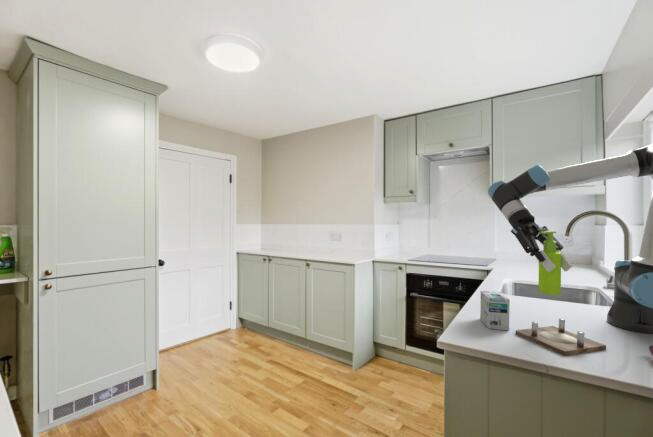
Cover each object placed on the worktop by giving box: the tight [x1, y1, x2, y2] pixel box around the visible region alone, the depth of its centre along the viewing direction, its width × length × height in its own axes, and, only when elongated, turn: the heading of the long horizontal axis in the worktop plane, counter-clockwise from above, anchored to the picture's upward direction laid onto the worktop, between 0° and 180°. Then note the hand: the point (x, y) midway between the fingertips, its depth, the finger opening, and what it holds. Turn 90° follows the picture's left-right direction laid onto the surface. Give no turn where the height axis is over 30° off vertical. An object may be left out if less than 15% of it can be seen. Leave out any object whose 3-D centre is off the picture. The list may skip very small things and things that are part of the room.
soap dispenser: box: [538, 230, 562, 296], centre depth 101 cm, size 6×7×20 cm
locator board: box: [515, 318, 607, 357], centre depth 97 cm, size 16×16×5 cm
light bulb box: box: [479, 290, 511, 331], centre depth 111 cm, size 11×7×11 cm, turn 168°
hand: (560, 269), depth 98 cm, fingers closed on soap dispenser, 6 cm apart
